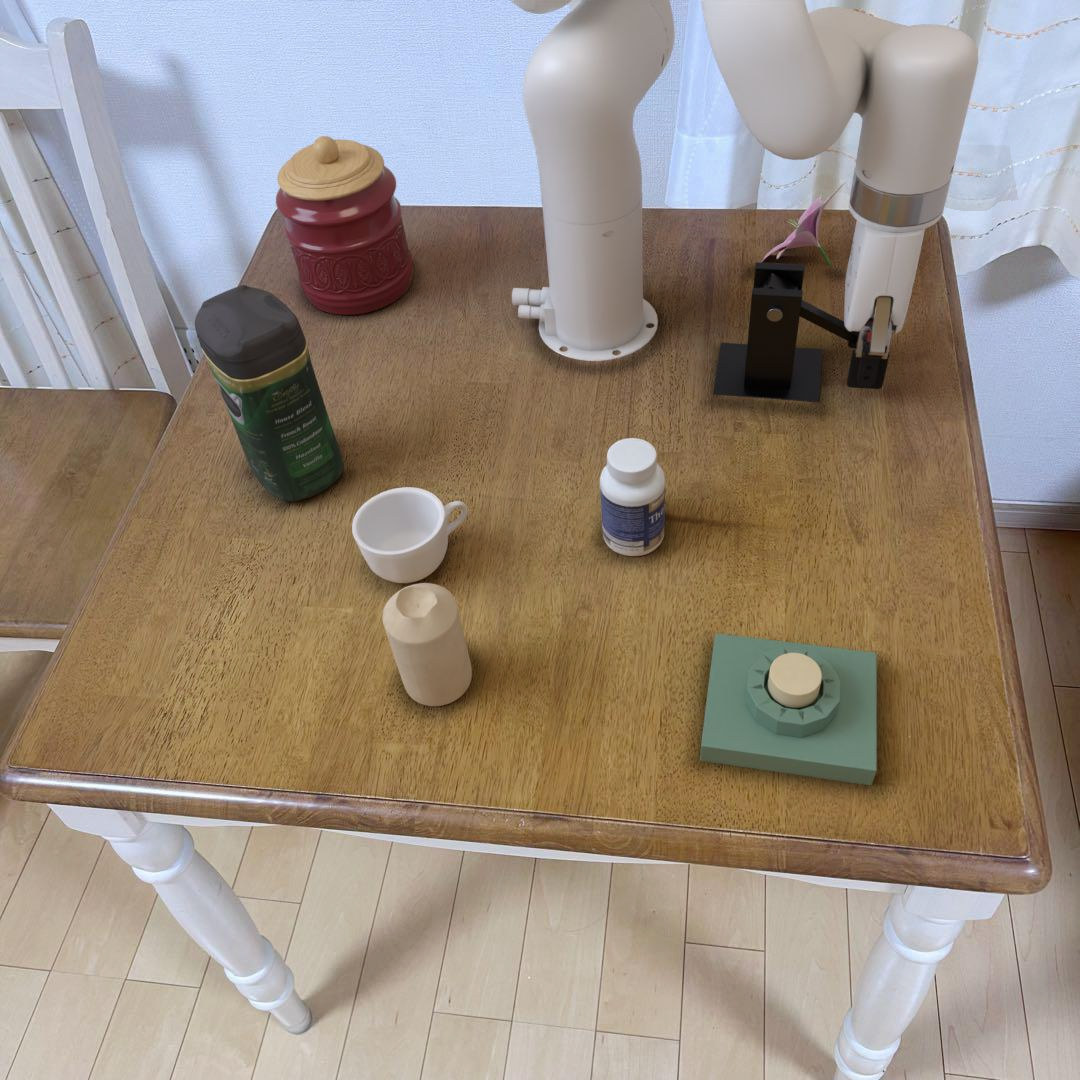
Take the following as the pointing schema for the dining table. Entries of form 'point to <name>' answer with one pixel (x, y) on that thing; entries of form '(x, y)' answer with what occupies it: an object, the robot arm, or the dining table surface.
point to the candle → (428, 643)
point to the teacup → (404, 533)
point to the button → (794, 680)
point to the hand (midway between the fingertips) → (864, 364)
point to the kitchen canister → (344, 226)
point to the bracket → (771, 345)
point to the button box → (791, 712)
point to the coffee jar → (270, 391)
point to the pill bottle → (632, 498)
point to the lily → (806, 229)
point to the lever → (816, 312)
